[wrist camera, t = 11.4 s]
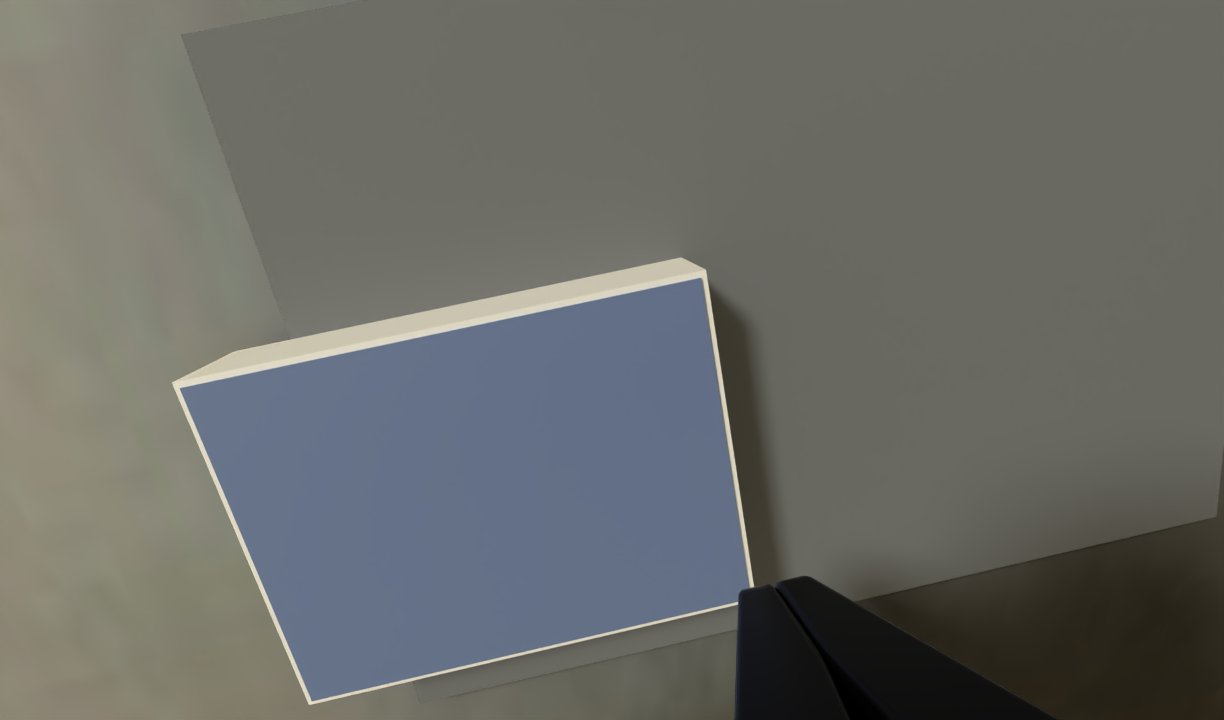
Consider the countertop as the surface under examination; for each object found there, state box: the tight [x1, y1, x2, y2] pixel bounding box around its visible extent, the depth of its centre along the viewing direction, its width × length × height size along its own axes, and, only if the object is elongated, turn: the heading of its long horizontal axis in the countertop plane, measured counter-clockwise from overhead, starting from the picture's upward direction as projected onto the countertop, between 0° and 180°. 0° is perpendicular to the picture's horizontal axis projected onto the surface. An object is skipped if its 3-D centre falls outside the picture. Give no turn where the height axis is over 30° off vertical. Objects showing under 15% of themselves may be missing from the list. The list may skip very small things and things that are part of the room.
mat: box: [181, 0, 1224, 703], centre depth 12 cm, size 18×13×1 cm
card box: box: [172, 257, 754, 705], centre depth 11 cm, size 6×2×8 cm
